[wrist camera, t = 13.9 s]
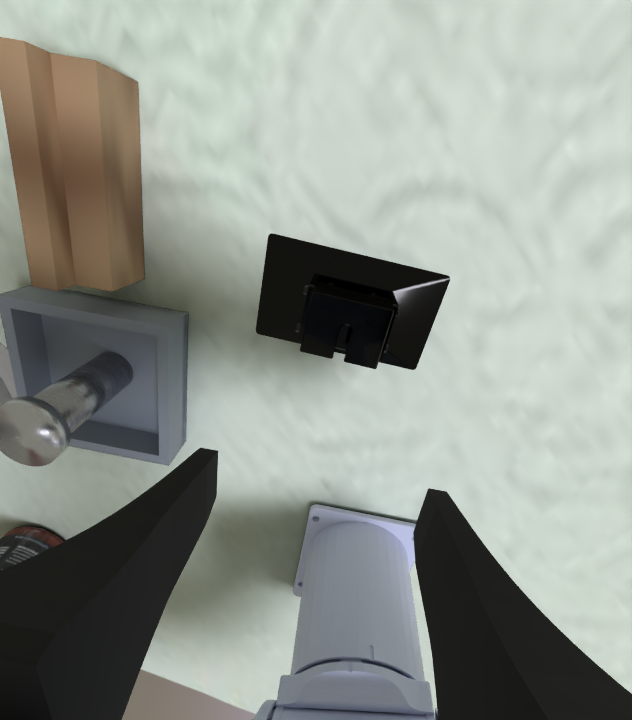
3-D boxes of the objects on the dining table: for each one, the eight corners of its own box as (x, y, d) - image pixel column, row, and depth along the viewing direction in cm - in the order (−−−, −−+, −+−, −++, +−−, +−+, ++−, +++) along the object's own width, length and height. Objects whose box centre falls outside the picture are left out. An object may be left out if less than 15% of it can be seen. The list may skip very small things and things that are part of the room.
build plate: (231, 335, 22) (201, 368, 18) (248, 205, 19) (216, 209, 15) (435, 384, 22) (453, 429, 18) (484, 261, 19) (519, 280, 15)
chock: (144, 278, 21) (96, 298, 17) (91, 268, 21) (31, 286, 17) (138, 82, 17) (74, 49, 13) (73, 70, 17) (-9, 35, 13)
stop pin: (140, 397, 23) (62, 472, 17) (90, 387, 23) (-6, 458, 17) (139, 351, 22) (54, 413, 16) (85, 340, 22) (-20, 398, 16)
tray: (186, 440, 25) (168, 465, 23) (55, 415, 25) (25, 437, 23) (188, 312, 21) (168, 327, 19) (35, 284, 21) (-4, 294, 19)
